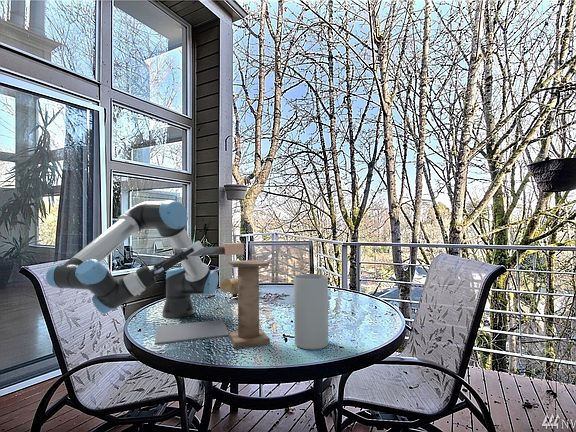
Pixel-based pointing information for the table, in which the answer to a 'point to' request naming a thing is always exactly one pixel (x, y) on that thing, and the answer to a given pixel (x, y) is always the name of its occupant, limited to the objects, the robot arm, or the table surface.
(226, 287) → the decorative spool
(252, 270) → the bobbin stand
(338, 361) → the table surface
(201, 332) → the rubber mat
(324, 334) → the cylinder vase
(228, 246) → the wooden mallet
